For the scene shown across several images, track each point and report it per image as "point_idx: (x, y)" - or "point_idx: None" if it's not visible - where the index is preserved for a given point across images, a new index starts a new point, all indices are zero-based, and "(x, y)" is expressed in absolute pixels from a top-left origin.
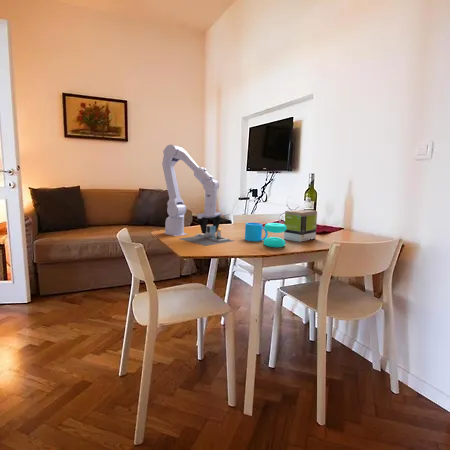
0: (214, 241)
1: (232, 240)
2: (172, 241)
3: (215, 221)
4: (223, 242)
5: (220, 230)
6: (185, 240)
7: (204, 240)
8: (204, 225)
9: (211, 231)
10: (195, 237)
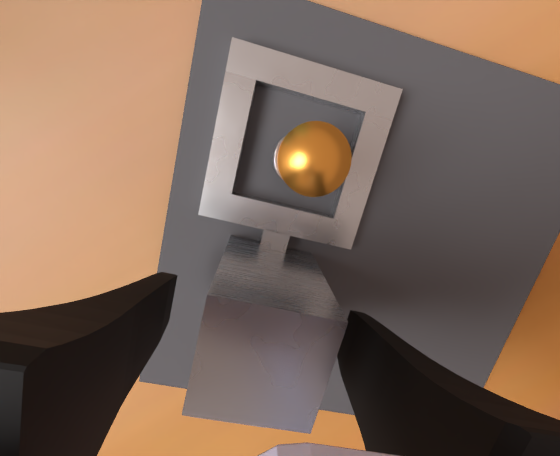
0: (394, 146)
1: (212, 5)
2: (545, 407)
3: (94, 405)
4: (385, 37)
5: (320, 123)
6: (494, 357)
7: (405, 247)
8: (453, 375)
9: (298, 278)
10: (334, 375)
